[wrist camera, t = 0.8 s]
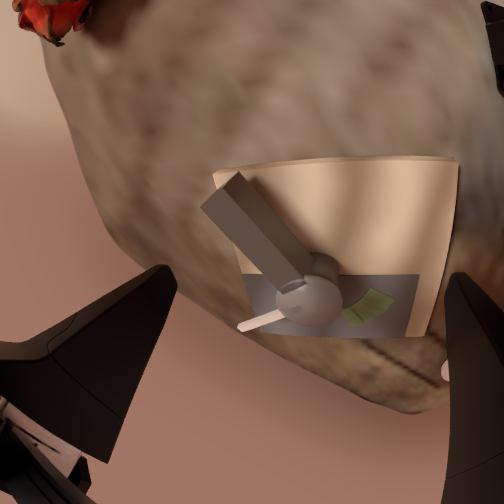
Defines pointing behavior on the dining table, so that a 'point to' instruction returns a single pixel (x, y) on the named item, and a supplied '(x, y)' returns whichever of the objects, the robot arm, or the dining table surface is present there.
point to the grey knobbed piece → (276, 256)
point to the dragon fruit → (51, 17)
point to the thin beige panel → (361, 236)
